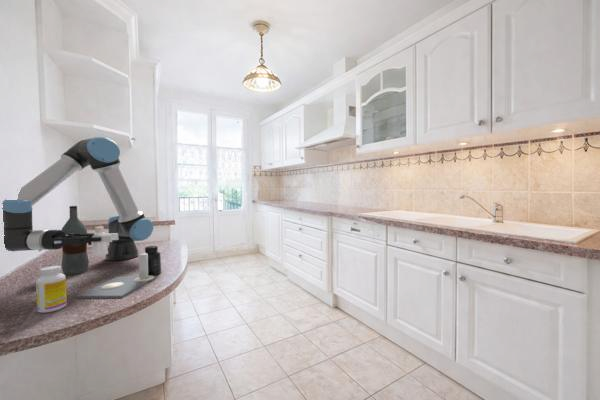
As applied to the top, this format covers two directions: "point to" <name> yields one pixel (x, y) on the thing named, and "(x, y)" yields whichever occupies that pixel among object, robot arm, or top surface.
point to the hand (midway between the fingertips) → (114, 237)
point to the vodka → (74, 246)
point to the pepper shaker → (99, 247)
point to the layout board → (121, 283)
